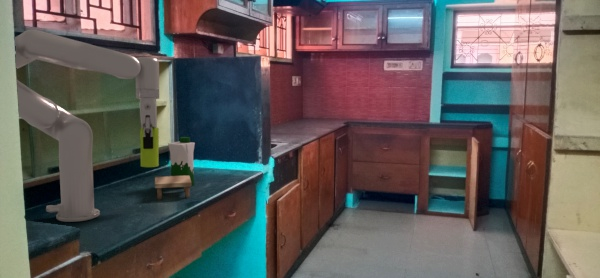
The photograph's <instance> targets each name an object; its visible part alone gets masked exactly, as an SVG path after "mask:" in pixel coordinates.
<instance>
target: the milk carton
mask: <svg viewBox="0 0 600 278" xmlns="http://www.w3.org/2000/svg"><path fill="white" fill-rule="evenodd" d="M167 144H168V149H169V154H170V156H169V157H170V176H187V175H189V176H190V179H191V182H192V186H195V175H194V172H195V171H194V150H195V144H196V143H195V142H192V141H191V137H190V136H180V137H179V141H173V142H169V143H167ZM192 186H191V187H192ZM177 188H178V189H184V187H177Z"/></svg>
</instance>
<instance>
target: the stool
mask: <svg viewBox="0 0 600 278" xmlns="http://www.w3.org/2000/svg"><path fill="white" fill-rule="evenodd" d="M178 187H184V188H183V192H184V197H185V199H188V198H190V197H191V196H190V192H191V190H190V187H192V182H191V179H190V176H189V175H187V176H171V175H168V176H167V175H166V176H165V175H164V176H155V177H154V188H155V189H156V194H157V195H156V197H157V199H156V200H159V201H160V200H162V199H163V192H162V189H163V188H164V189H166V188H178Z"/></svg>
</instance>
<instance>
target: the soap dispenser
mask: <svg viewBox="0 0 600 278" xmlns="http://www.w3.org/2000/svg"><path fill="white" fill-rule="evenodd" d="M138 110H139V111H140V107H139V108H138ZM150 127H151V126H150ZM143 128H144V127H143ZM143 128H142V127H140V132H139V133H140V140H139V141H140V167H141V168H156V167H159V165H160V164H159V158H160V157H159V151H160V150H159V149H160V147H159V138H160V137H159V135H160V134H159V133H160V132H159V131H160V129H159V127H157V128H155V127H153V126H152V137H153V149H143V137H144V129H143Z"/></svg>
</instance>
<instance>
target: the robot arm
mask: <svg viewBox="0 0 600 278" xmlns="http://www.w3.org/2000/svg"><path fill="white" fill-rule="evenodd" d="M14 37H15V46H16V68H17V69H20V68H22V67H24V66H26V65H28V64H30V63H32V62H34V61H36V60H37V61H41V62H47V63H50V64H54V65H58V66H63V67H66V68H71V69H75V70H80V71H93V72H98V73H102V74H107V75H111V76H114V77H116V78H117V79H120V80H121V79H122V80H123V79H124V80H126V79H127V80H131V79H135V99H137V100H139V108H140V110H139V116H140V117H139V118H140V125H141V128H143V127H144V128H143V129H144V137H143V149H153V137H152V126H153V127H155V128H158V119H157V117H158V114H157V113H158V110H157V109H158V108H157V107H158V106H157V100H160V62H159V59H158V58H157V57H149V56H141V57H136V56H134V55H130V54H128V53H124V52H121V51H118V50H113V49H109V48H105V47H103V46H97V45H93V44H92V43H87V42H83V41H79V40H76V39H72V38H68V37H65V36H61V35H59V34H58V35H57V34H53V33H49V32H46V31H42V30H38V29H28V30H25V31H23V32H22V33H20V34H19V35H16V36H14ZM17 69H16V70H17ZM17 90H18V104H19V116H18V117H19V118H20V119H22V120H24V121H25V122H26V123H27V124H28V125H30V126H32V127H34V128H36V129H38V130H39V131H41V132H43V133H44V134H46V135H47V136H50V137H51V138H53V139H54V140H56V141H58V165H59V166H58V168H59V185H60V203H57V204H54V205H53V204H49V205H46V206H45V207H46V208H45V211H46V212H48V213H57V214H55V215H56V218H55V219H56V220H57V221H60V222H64V223H71V222H72V223H73V222H74V223H75V222H76V223H77V222H83V221H84V222H86V221H88V220H89V221H90V220H93V219H95V218H98V217H99V216H100V215H101V213H100V212H101V211H100V210H99V209H98V208H95V193H94V192H95V191H94V171H93V170H94V169H93V168H94V167H93V145H94V136H93V135H94V134H93V130H92V127H91V126H90V124H89V123H88V122H87V121H85V120H84V119H82V118H80V117H77V116H75V115H74V114H72V113H70V112H69V111H68V110H65V108H63V107H61V106H60V105H58V104H57V103H55V102H54V101H53V100H51V99H50V98H47V97H44V96H43V95H41V94H39V93H38V92H36V91H35V90H33V89H31V88H30V87H28V86H27V85H25V84H24V83H23V82H21V81H19V80H18V79H17ZM150 126H151V127H150Z"/></svg>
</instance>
